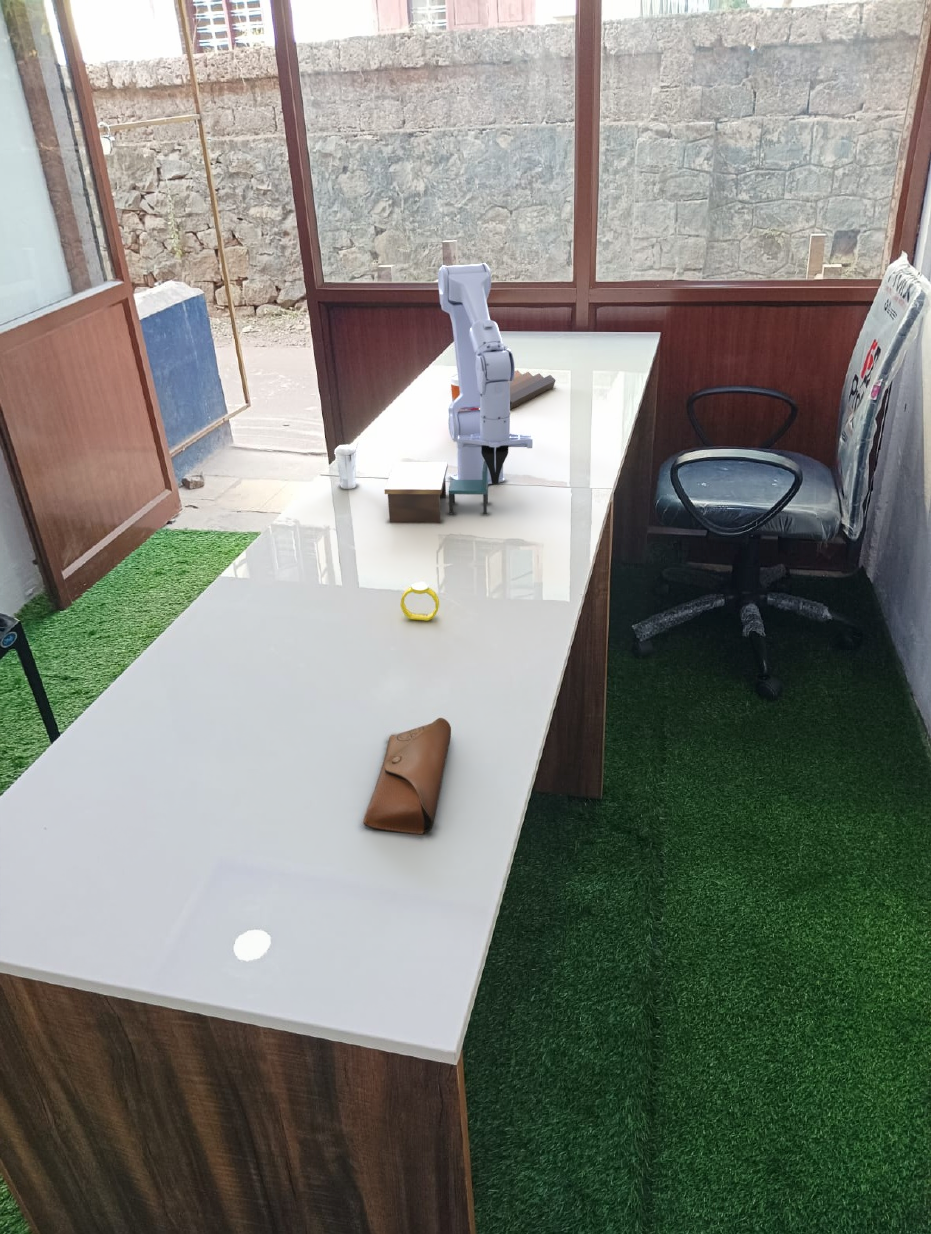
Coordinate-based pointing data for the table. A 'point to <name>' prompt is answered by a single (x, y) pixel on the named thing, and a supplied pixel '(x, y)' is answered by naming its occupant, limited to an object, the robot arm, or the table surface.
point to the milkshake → (346, 465)
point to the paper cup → (457, 390)
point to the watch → (419, 589)
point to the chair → (470, 489)
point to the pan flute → (528, 387)
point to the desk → (416, 491)
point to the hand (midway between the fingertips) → (495, 481)
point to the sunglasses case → (410, 780)
